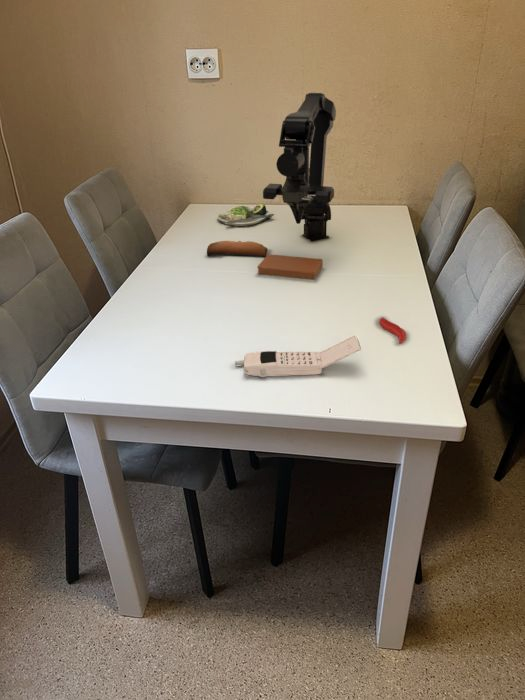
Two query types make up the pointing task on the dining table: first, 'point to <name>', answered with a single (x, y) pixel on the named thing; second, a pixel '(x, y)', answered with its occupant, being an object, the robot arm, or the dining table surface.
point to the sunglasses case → (236, 248)
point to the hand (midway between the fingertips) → (298, 223)
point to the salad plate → (245, 215)
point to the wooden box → (290, 273)
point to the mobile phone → (296, 360)
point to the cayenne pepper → (393, 329)
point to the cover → (290, 263)
